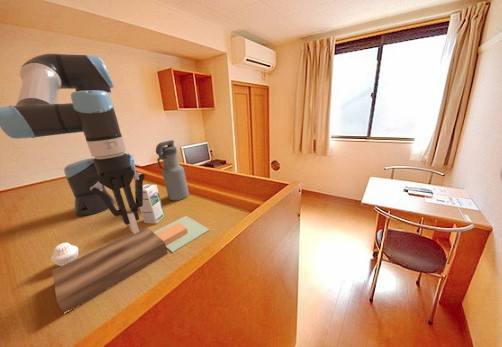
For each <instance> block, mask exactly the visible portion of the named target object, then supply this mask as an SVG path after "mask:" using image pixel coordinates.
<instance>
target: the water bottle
mask: <svg viewBox="0 0 502 347" xmlns="http://www.w3.org/2000/svg"><path fill="white" fill-rule="evenodd" d="M155 153H156V155H157V156H158V158H157V159H156V161H157V164H158V167H159V169H161V170H162V171H161V172H162V177H163V180H164V185H165V189H166V192H167V197H168V199H169V200H171V201H175V202H176V201H181V200H184V199H186V198H187V197H188V196H189V187H188V182H187V179H186V172H185V168H184V167H183V166H182V165H180V161H179V157H178V150H177V147H176V146H175V140H167V141H166V140H164V141H162V142H160V143H158V144H157V145H156V147H155ZM161 160H163V165H164V167H163V166H162V165H161V162H160V161H161Z"/></svg>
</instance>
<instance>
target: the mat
mask: <svg viewBox="0 0 502 347" xmlns="http://www.w3.org/2000/svg"><path fill="white" fill-rule="evenodd" d="M176 223H180V224H181V225H183V226H184V227H186V228H187V231H188V233H187V234H185V235H184V236H182V237H180V238H178V239H177V240H175V241H173V242H171V243H170V244H168V245H166V248H167V250H168V251H170V252H171V253H175V252H176V251H179V250H180V248H183V247H184V246H186V245H187V244H189V243H191V242H192V241H195V240H196V239H197V238H200V237H201V236H203V235H204V234H206V233H208V232H210V229H209V228H208V227H206V226H205V225H203V224H201V223H199V222H197V221H196V220H194V219H193V218H190V217H189V216H187V215H185V216H183V217H181V218H178V219H177V220H175V221H172V222H170V223H168V224H167V225H165V226H163V227H160V228H159V229H157V230H155V231H152V232H153V233H155V234H157V233H159V232H161V231H163V230H165V229H167V228H169V227H171V226H173V225H175V224H176Z"/></svg>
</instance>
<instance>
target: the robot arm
mask: <svg viewBox="0 0 502 347" xmlns="http://www.w3.org/2000/svg"><path fill="white" fill-rule="evenodd" d="M19 76H20V78H21V79H20V80H22V83H21V86H20V90H19V92H18V93H19V94H18V98H17V101H16V105H8V106H6V105H5V106H0V129H1V130H2V132H4V133H3V134H5V135H7V136H8V137H9V138H11V139H16V140H19V139H30V138H31V139H35V138H41V137H47V136H49V137H50V136H57V135H59V136H60V135H65V134H75V133H76V134H77V133H83V135H84V137H85V141H86V145H87V147H88V150H89V152H90V156H91V158H85V159H81V160H78V161H74V162H72V163H69V164H68V165H66V166H64V168H63V172H64V175H65V178H66V180H67V182H68V185H69V188H70V189H71V192H72V194H73V196H74V212H75V215H76V216H78V217H83V216H84V217H85V216H90V215H95V214H97V213H100V212H104V211H105V210H109V211H110V213H111V214H112V215H113V216H114V217H119V216H121V218H122V221H123V224H125V225H126V226H129V229H130V231H131V232H132V233H134V234H135V233H137V232H139V230H140V229H139V227H138V223H137V221H139V220H140V216H139V212H138V211H139V210H138V209H140V208H139V207H142V206H143V185H144V179H145V174H143V173H142V172H136V164H135V158H134V156H133V154H130V153H129V151H127V149H126V145H125V141H124V138H123V135H122V132H121V129H120V126H119V121H118V118H117V115H116V111H115V108H114V107H115V106H114V103H113V101H112V99H111V94H112V90H111V89H114V87H115V86H114V84H113V80H112V78H111V76H110V73H109V71H108V68H107V66H106V64H105V62H104V60H103V59H102V58H101V57H99V56H95V55H88V54H67V53H66V54H65V53H64V54H63V53H62V54H61V53H44V54H40V55H36V56H35V57H32V58H30V59H29V60H26V61H25V62H24V63H23V64H22V66H21V68H20V70H19ZM64 89H65V90H66V89H68V90H69V89H71V90H72V89H74V90H75V91H72V92H71V93H70V98H71V99H70V100H71V102H72V103H71V102H70V103H58V91H59V90H64ZM133 179H134V191H135V192H134V195H135V196H134V195H133V192H132V187H131V183H132V181H133ZM105 187H106V188H108V189H109V190H111V191H112V193H113V197H114V198H113V197H112V195H111V194H110V193H109V192H108V190H106V188H105ZM121 189H122V190H123V192H124V195H125V199H126V202H127V204H128V207H129V210H127V208H126V205H125V201H124V199H123V196H122V191H121ZM134 197H135V198H134ZM114 199H115V200H114ZM115 202H116V204H117V207H118V209H117V208H116V206H114V204H115Z"/></svg>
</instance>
